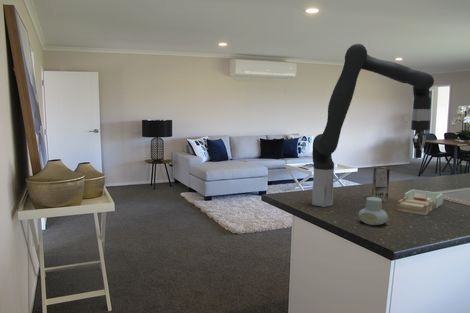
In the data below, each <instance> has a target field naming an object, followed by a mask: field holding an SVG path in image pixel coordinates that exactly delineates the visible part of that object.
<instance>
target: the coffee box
mask: <svg viewBox="0 0 470 313" xmlns="http://www.w3.org/2000/svg"><path fill="white" fill-rule="evenodd" d="M390 171H391V169H390V168H388V167H387V166H373V167H372V186H371V187H372V188H371V191H372V193H371V197H376V198H380V199H381V200H382V202H385V203H386V202H387V203H388V200H389V188H390V187H389V183H390Z"/></svg>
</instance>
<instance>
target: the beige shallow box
mask: <svg viewBox="0 0 470 313" xmlns="http://www.w3.org/2000/svg"><path fill="white" fill-rule="evenodd" d="M395 210H396V211H398V212H404V213H409V214H416V215H422V216H427V215H428V214H429V213H430V212H432V211H434V210H435V209H434V200H431V201H430V202H428V201H421V200H415V199H408V196H406V197H403V198H401V199H399V200H398V201H396V209H395Z"/></svg>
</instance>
